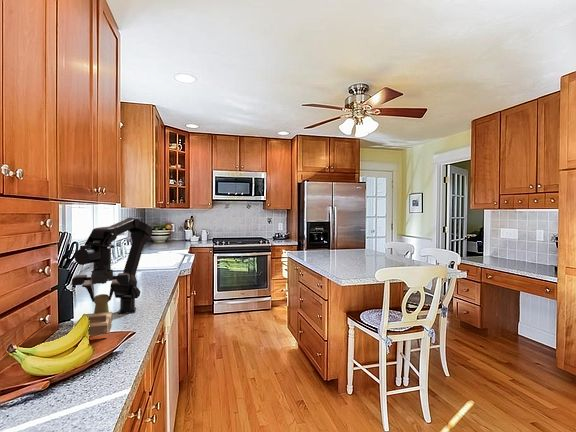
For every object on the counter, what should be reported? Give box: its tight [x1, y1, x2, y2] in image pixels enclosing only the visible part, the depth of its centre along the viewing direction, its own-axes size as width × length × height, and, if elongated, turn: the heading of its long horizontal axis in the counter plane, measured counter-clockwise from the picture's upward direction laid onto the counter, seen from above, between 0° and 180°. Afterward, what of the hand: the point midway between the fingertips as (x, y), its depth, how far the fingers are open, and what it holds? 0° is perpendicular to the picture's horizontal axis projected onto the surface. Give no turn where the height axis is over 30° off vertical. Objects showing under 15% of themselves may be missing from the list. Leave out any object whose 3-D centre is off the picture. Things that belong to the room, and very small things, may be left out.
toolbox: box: [89, 315, 113, 337], centre depth 113 cm, size 12×8×4 cm, turn 22°
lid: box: [86, 311, 113, 327], centre depth 113 cm, size 12×8×3 cm, turn 22°
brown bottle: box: [93, 293, 110, 313], centre depth 122 cm, size 6×6×11 cm
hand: (101, 301), depth 122 cm, fingers closed on brown bottle, 5 cm apart
